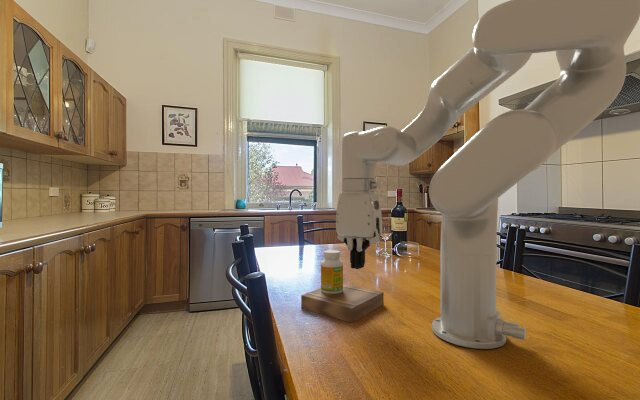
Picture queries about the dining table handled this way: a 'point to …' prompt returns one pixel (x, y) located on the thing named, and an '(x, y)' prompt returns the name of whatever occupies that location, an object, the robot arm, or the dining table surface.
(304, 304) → the walnut board
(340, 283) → the supplement bottle
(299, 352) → the dining table surface
